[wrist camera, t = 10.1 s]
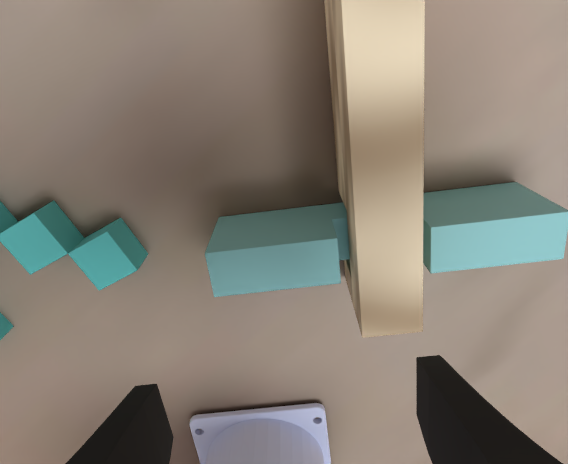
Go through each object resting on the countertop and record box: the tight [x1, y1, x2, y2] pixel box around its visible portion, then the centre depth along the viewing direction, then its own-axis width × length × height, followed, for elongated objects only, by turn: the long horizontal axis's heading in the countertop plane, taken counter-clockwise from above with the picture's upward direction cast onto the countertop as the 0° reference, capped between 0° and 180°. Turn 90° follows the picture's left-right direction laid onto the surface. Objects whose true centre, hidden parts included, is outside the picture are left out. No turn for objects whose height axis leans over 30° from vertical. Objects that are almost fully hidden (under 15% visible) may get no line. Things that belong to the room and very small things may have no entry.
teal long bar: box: [205, 182, 568, 297], centre depth 18 cm, size 2×14×4 cm, turn 97°
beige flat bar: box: [324, 0, 425, 338], centre depth 16 cm, size 14×2×5 cm, turn 7°
